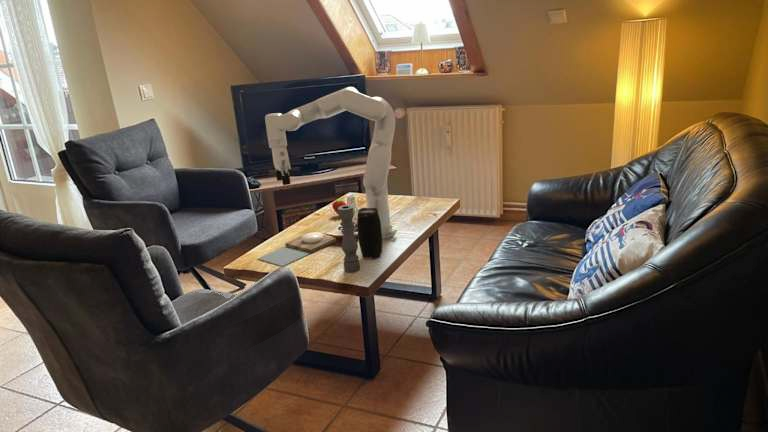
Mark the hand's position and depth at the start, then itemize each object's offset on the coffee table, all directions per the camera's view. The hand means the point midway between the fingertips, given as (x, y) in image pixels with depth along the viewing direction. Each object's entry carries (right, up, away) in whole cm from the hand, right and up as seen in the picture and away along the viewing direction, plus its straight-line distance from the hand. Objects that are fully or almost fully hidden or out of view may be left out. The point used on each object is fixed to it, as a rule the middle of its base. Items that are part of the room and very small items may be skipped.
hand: (283, 182), depth 239 cm
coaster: (+12, -25, +3) cm, 28 cm away
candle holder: (+31, -35, -27) cm, 54 cm away
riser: (+11, -27, +3) cm, 29 cm away
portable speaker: (+39, -31, -16) cm, 52 cm away
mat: (+2, -31, -9) cm, 33 cm away
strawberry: (+22, -15, +38) cm, 46 cm away
